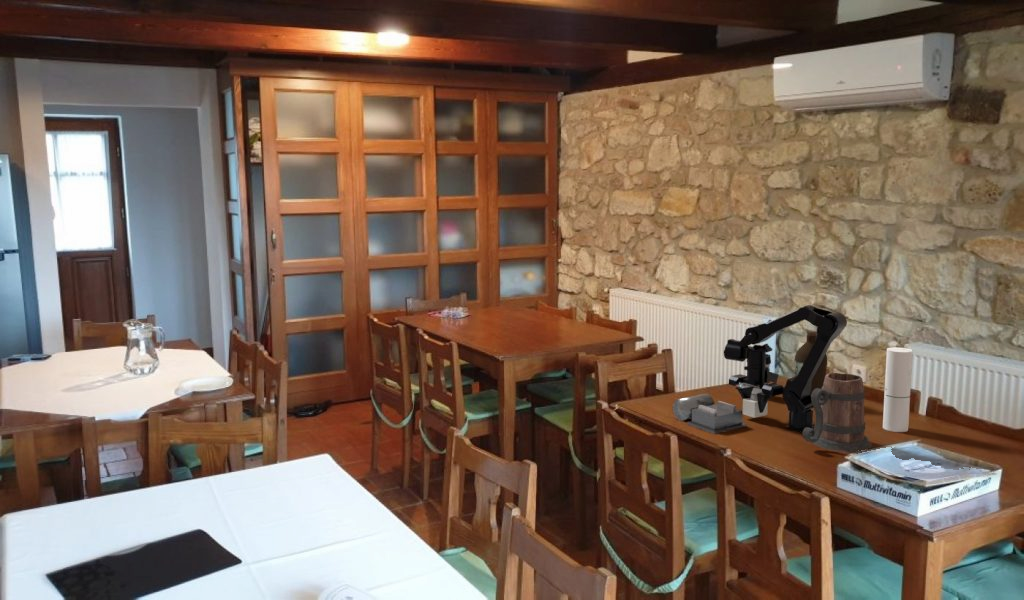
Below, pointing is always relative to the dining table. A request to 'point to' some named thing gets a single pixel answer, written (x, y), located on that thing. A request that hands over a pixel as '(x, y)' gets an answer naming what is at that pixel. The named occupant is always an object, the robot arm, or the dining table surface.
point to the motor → (708, 414)
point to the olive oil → (802, 355)
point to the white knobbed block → (753, 407)
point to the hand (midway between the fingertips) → (755, 410)
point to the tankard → (839, 414)
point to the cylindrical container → (897, 389)
